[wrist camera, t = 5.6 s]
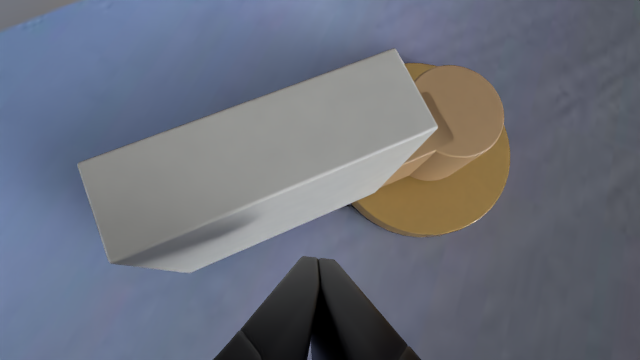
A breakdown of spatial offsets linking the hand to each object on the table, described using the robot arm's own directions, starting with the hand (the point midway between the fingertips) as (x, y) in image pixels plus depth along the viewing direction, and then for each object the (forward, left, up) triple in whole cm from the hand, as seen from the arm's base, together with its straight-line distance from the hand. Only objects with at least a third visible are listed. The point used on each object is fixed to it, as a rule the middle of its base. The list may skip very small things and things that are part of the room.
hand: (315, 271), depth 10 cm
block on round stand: (+1, -4, -6) cm, 7 cm away
